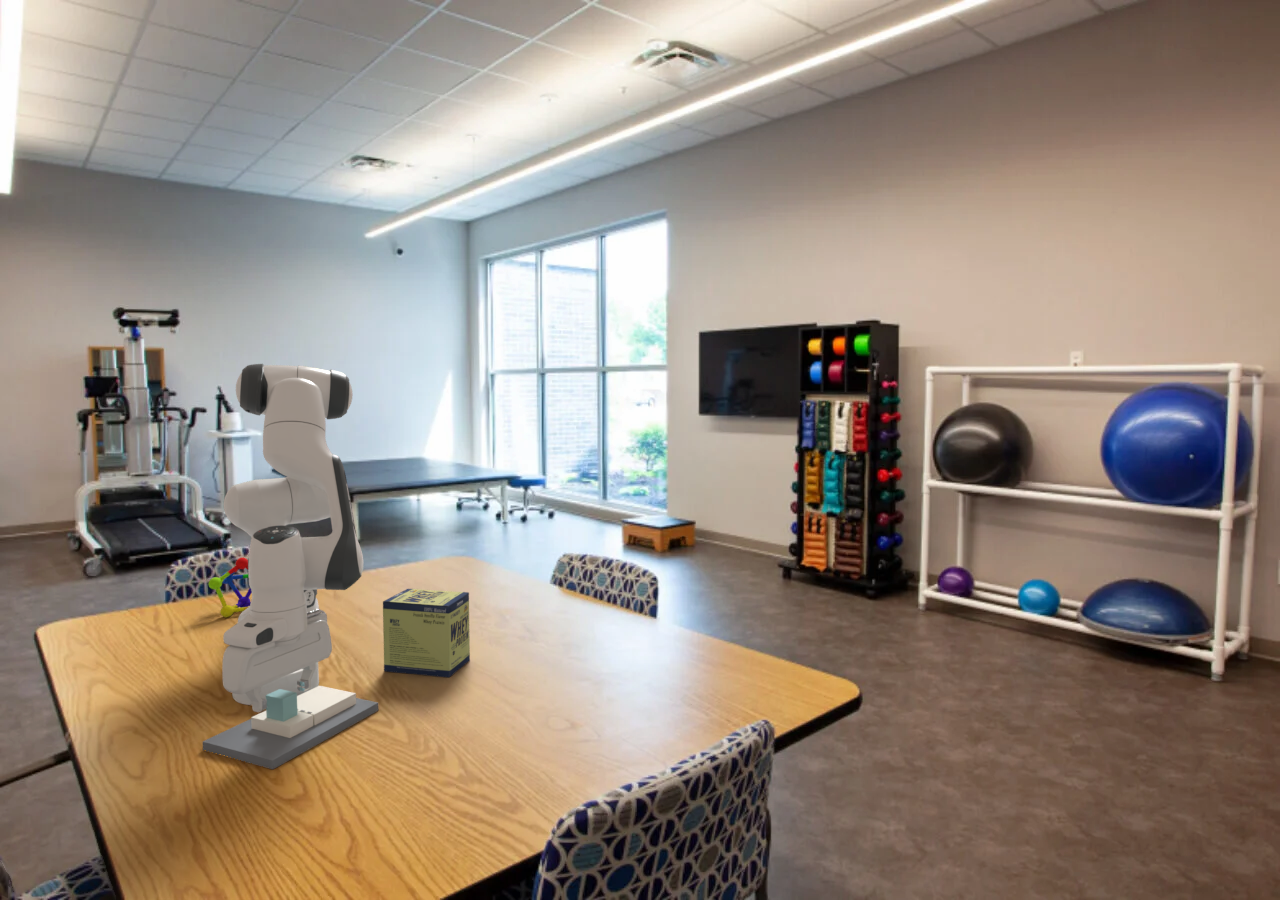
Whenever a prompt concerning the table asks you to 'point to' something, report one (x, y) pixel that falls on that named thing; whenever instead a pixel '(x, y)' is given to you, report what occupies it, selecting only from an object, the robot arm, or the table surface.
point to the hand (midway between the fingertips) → (282, 699)
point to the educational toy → (227, 579)
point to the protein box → (426, 632)
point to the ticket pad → (324, 702)
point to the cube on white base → (282, 715)
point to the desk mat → (283, 738)
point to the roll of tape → (281, 686)
